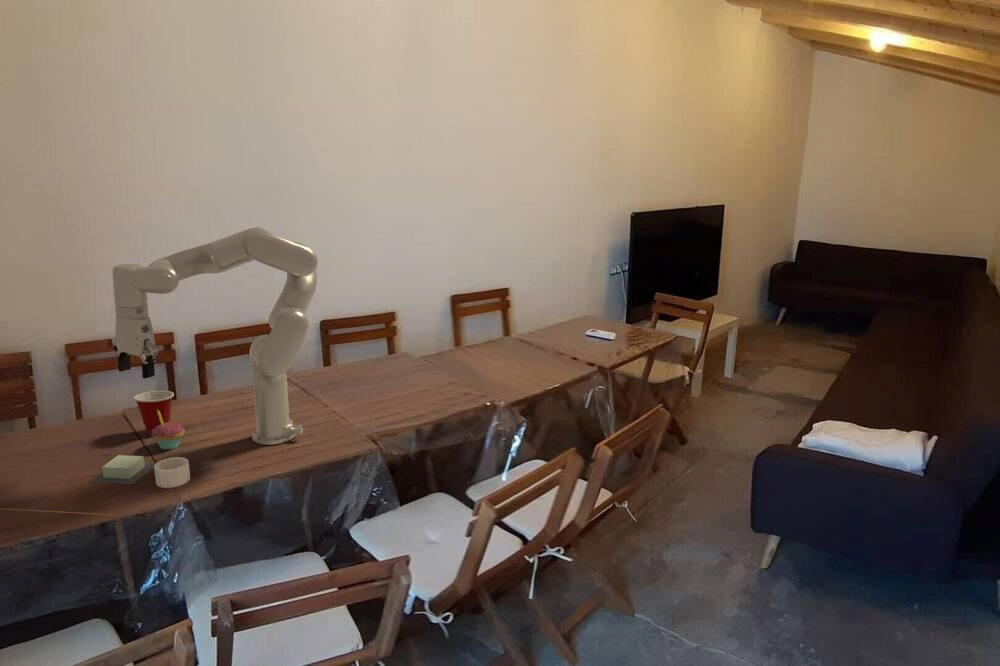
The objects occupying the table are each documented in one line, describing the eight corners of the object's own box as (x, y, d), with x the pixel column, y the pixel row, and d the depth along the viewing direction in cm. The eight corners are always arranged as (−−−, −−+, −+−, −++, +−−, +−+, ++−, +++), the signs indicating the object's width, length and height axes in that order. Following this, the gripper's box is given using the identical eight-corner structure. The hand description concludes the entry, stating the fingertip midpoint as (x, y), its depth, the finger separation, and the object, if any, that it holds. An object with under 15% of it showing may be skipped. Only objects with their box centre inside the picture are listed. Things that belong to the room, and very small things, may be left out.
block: (144, 466, 180) (143, 456, 179) (129, 478, 174) (128, 468, 173) (119, 465, 181) (118, 455, 180) (103, 477, 174) (101, 467, 173)
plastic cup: (185, 425, 208) (181, 389, 205) (165, 439, 198) (160, 401, 195) (152, 423, 209) (147, 387, 206) (130, 437, 199) (125, 399, 196)
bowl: (196, 475, 177) (194, 457, 176) (180, 489, 170) (178, 472, 168) (166, 473, 178) (164, 456, 176) (150, 488, 170) (147, 470, 169)
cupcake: (153, 455, 188) (148, 415, 185) (152, 443, 195) (148, 405, 192) (186, 449, 192) (182, 410, 188) (185, 438, 199) (181, 400, 196)
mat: (158, 464, 183) (158, 462, 183) (133, 485, 171) (133, 483, 171) (116, 462, 183) (116, 460, 183) (88, 483, 172) (87, 481, 172)
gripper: (166, 314, 174) (170, 376, 178) (124, 304, 181) (128, 364, 186) (140, 319, 168) (145, 383, 172) (97, 309, 175) (102, 370, 179)
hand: (136, 373), depth 179 cm, fingers open, 9 cm apart
